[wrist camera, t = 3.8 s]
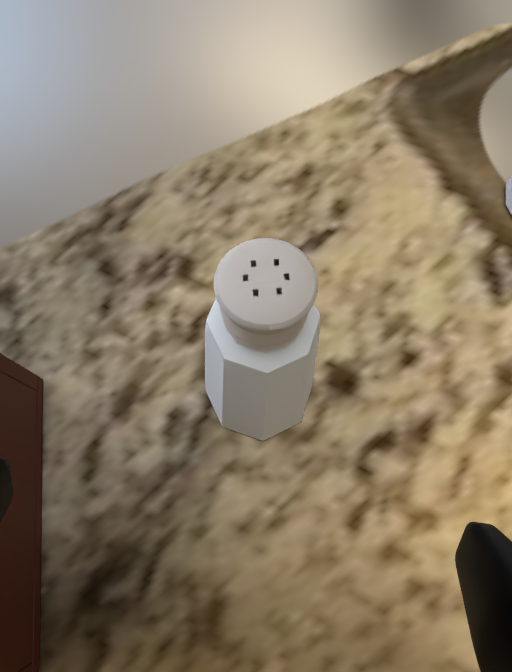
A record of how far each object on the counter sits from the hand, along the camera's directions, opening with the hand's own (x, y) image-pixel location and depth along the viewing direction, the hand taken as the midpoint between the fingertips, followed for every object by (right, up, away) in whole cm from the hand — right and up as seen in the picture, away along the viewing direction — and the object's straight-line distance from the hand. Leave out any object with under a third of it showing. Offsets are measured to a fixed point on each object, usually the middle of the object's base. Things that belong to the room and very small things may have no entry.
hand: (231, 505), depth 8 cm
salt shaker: (+1, +1, +13) cm, 13 cm away
